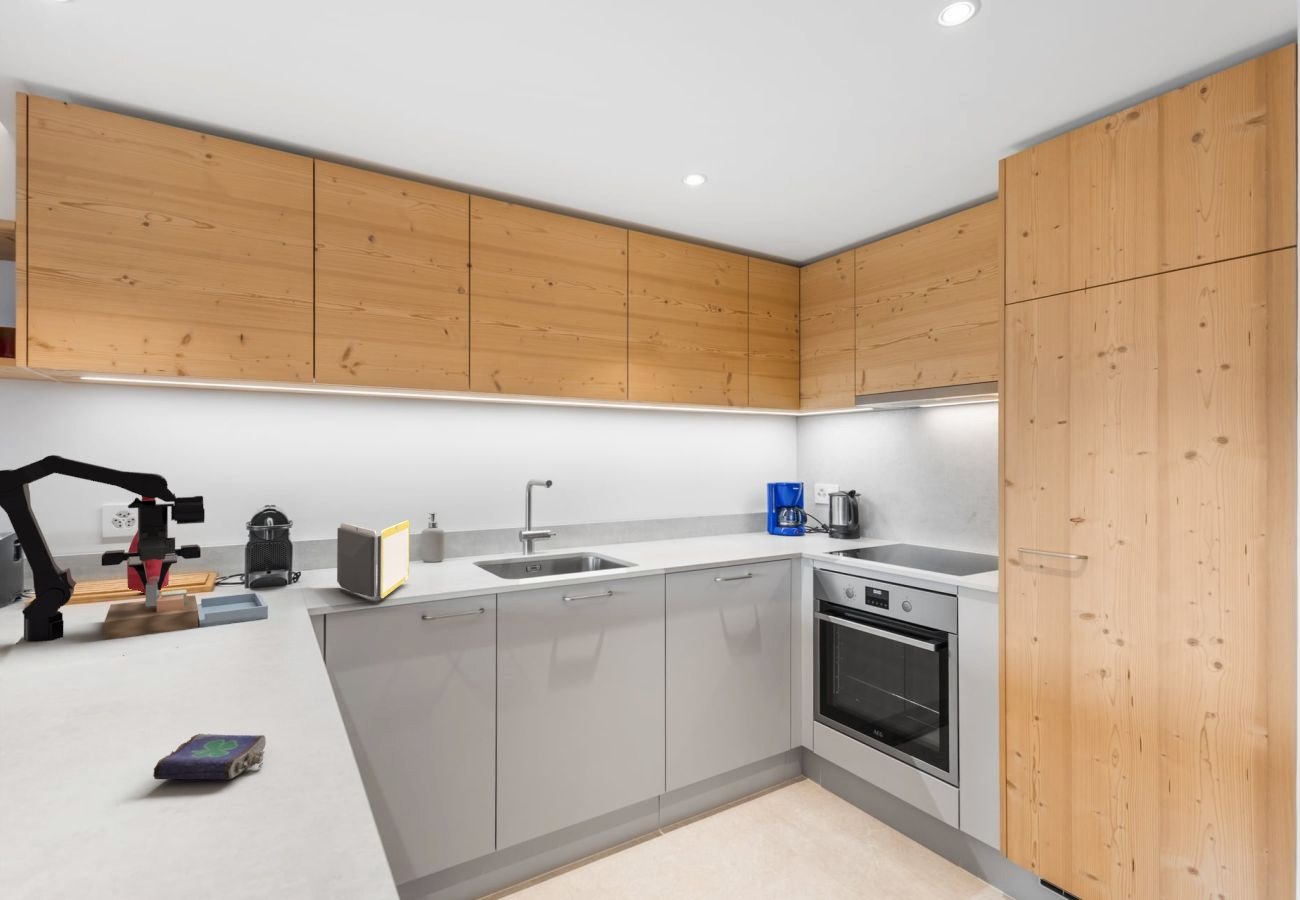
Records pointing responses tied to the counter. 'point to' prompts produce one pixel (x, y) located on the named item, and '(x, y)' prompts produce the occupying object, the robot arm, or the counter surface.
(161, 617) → the wood-grain brown block
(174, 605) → the terracotta tile
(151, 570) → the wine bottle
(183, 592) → the sage tile
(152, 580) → the grey rectangular bar
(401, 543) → the folding display board
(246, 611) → the box
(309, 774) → the counter surface
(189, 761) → the navy flat block
